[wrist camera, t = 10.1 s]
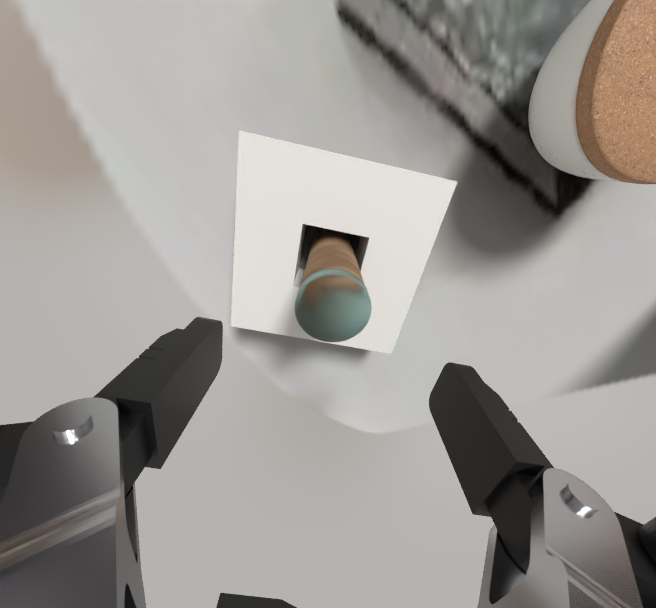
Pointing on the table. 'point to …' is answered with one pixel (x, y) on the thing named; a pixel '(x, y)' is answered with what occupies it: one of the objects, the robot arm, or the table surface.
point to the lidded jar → (600, 94)
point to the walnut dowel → (332, 290)
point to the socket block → (335, 214)
